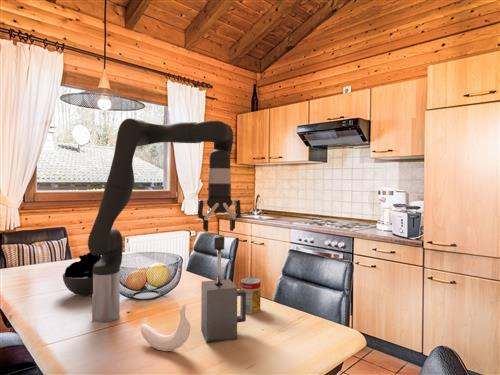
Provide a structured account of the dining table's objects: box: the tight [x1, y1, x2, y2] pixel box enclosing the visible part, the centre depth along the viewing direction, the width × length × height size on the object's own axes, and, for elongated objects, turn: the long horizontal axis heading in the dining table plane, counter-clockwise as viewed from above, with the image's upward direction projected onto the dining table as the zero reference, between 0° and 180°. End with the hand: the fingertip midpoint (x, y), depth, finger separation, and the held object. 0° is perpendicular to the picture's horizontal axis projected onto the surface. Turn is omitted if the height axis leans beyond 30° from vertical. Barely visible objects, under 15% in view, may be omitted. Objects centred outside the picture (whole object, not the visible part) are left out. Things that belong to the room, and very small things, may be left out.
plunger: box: [213, 235, 225, 286], centre depth 117 cm, size 3×3×18 cm
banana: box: [140, 303, 191, 352], centre depth 107 cm, size 5×19×15 cm, turn 67°
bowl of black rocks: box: [62, 251, 102, 297], centre depth 156 cm, size 20×20×19 cm
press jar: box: [200, 279, 247, 344], centre depth 118 cm, size 14×10×17 cm
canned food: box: [240, 277, 262, 315], centre depth 140 cm, size 8×8×12 cm
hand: (219, 230), depth 117 cm, fingers open, 8 cm apart
